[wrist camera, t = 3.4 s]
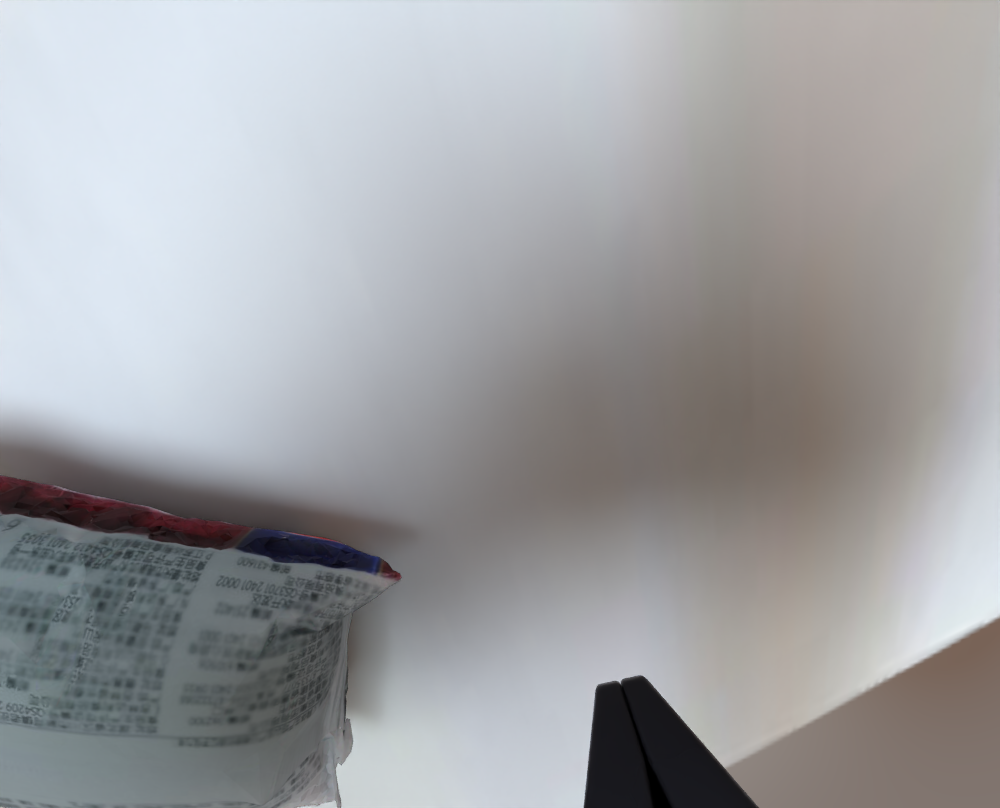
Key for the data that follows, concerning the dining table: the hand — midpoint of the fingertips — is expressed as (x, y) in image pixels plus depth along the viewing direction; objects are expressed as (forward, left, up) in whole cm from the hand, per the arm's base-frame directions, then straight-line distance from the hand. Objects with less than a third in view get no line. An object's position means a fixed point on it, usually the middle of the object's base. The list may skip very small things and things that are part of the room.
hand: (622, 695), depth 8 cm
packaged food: (0, +11, -6) cm, 13 cm away
